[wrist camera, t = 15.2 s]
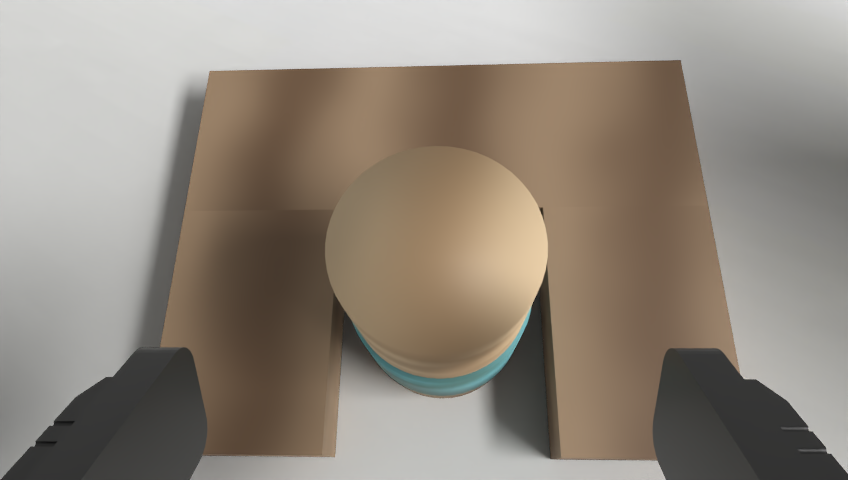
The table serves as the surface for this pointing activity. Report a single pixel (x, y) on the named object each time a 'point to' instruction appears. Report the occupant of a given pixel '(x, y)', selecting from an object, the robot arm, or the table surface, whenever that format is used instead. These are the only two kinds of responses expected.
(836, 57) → the table surface
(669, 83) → the notched board
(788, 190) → the table surface
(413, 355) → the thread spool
